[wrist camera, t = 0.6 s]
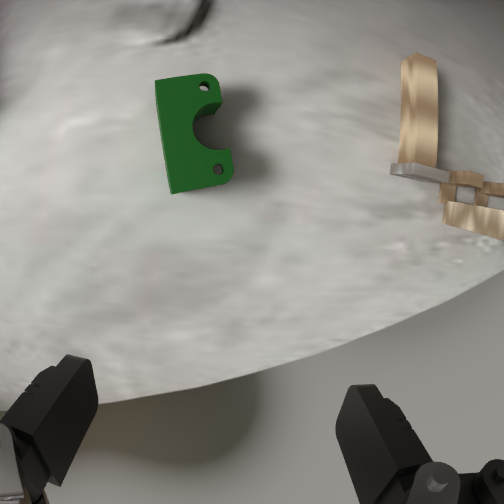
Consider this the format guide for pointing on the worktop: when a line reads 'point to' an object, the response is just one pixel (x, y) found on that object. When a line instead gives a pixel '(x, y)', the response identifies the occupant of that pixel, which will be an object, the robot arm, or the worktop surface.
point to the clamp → (189, 132)
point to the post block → (475, 215)
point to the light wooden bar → (419, 121)
